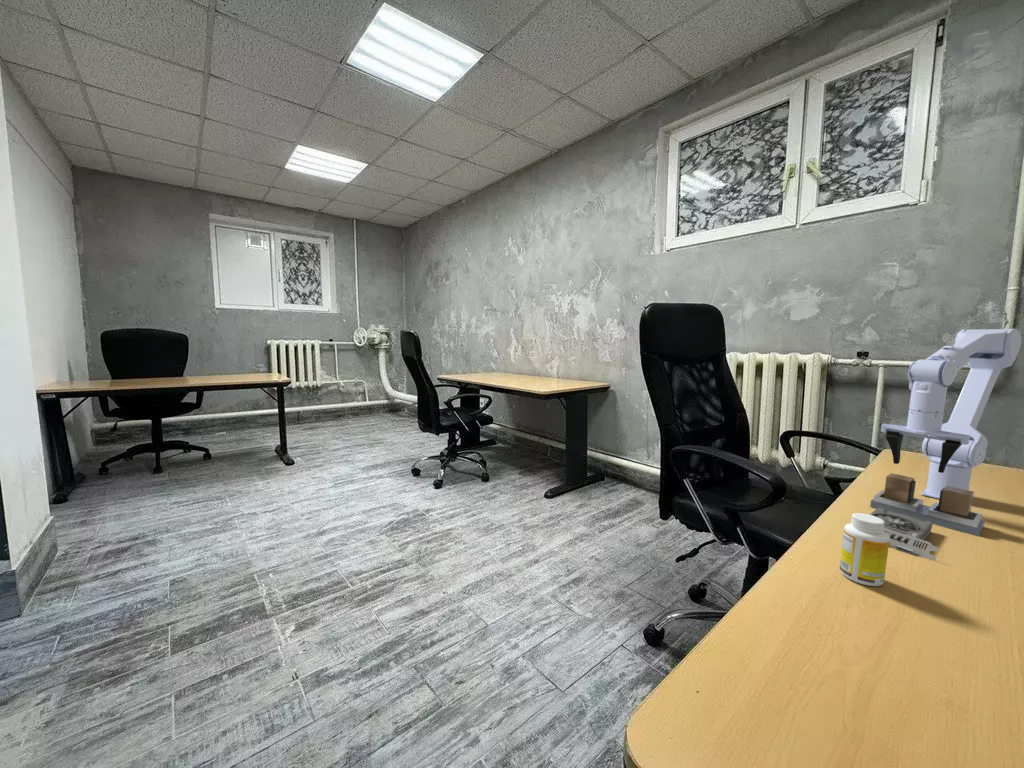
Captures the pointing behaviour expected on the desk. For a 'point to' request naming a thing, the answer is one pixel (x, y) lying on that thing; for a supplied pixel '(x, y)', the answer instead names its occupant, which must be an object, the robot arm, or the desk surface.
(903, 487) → the walnut block
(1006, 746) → the desk surface
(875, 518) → the supplement bottle
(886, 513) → the graphics card
